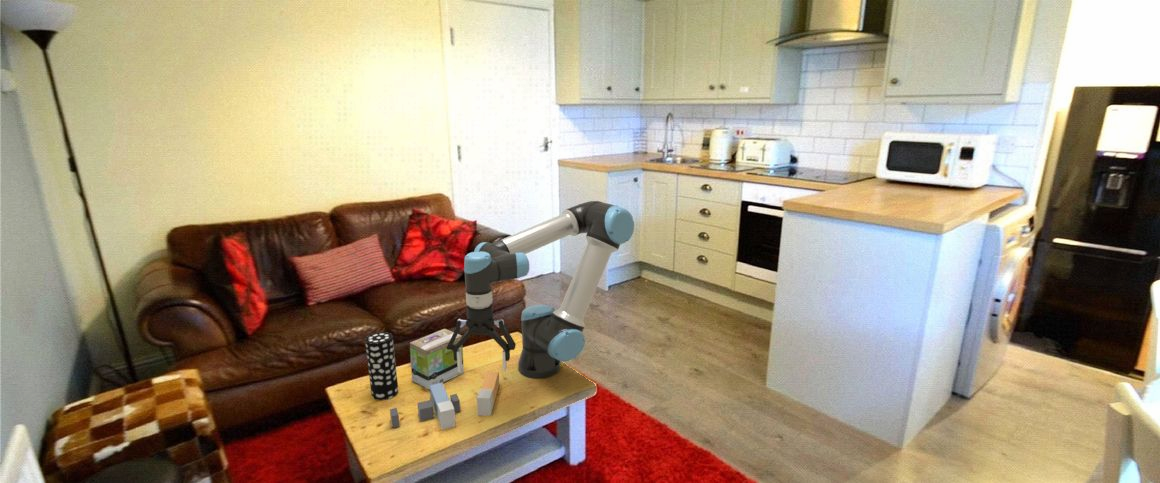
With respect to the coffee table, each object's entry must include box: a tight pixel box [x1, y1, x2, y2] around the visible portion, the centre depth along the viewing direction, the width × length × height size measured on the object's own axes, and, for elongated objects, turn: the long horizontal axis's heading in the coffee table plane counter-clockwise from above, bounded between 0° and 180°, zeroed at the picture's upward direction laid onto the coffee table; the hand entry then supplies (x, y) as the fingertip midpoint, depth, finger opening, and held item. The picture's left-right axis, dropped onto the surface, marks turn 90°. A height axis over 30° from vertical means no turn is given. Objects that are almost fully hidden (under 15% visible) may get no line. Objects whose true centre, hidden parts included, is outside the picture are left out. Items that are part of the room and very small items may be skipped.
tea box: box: [409, 328, 465, 391], centre depth 182 cm, size 15×10×15 cm
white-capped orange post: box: [476, 370, 500, 416], centre depth 170 cm, size 4×18×6 cm, turn 0°
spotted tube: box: [364, 331, 399, 401], centre depth 171 cm, size 8×8×20 cm
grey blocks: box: [389, 393, 461, 429], centre depth 161 cm, size 20×4×4 cm, turn 115°
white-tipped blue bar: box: [429, 382, 456, 431], centre depth 163 cm, size 4×18×6 cm, turn 25°
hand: (482, 369), depth 161 cm, fingers open, 13 cm apart
